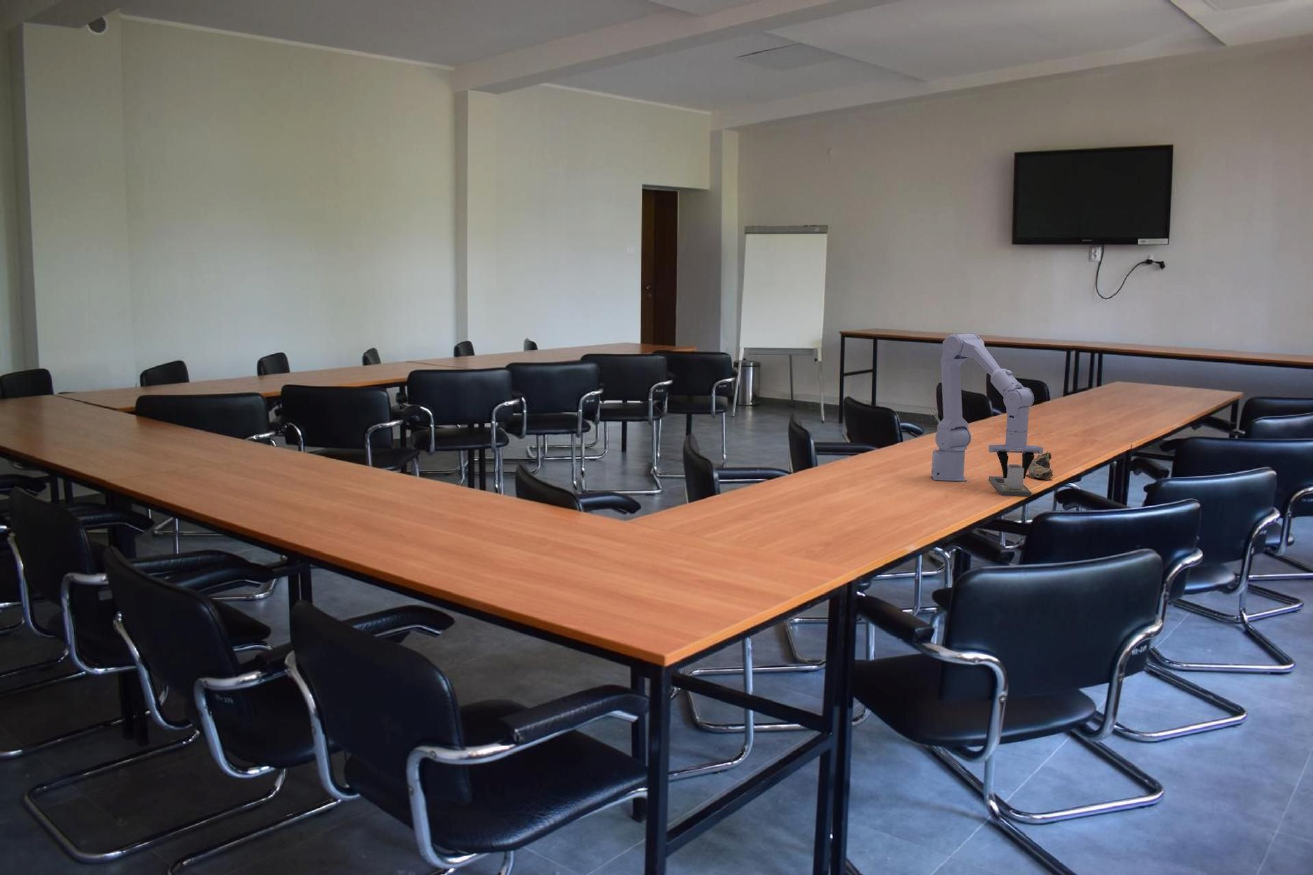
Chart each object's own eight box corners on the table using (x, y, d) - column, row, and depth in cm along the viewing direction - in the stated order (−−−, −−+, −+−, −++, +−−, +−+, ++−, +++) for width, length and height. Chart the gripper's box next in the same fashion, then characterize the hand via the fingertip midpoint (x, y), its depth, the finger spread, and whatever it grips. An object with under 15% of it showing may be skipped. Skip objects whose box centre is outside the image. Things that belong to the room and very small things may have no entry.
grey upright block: (1006, 488, 295) (1007, 466, 294) (1003, 485, 299) (1005, 463, 298) (1022, 489, 294) (1024, 466, 293) (1019, 485, 298) (1021, 463, 297)
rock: (1067, 474, 315) (1050, 450, 321) (1057, 467, 310) (1040, 443, 317) (1043, 492, 319) (1027, 467, 325) (1033, 485, 314) (1016, 460, 320)
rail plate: (1001, 495, 292) (1001, 491, 292) (988, 480, 314) (988, 475, 313) (1031, 496, 291) (1031, 492, 291) (1016, 480, 312) (1016, 476, 312)
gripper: (992, 432, 291) (989, 479, 293) (1046, 433, 289) (1043, 481, 291) (988, 428, 298) (985, 474, 300) (1041, 429, 295) (1038, 476, 298)
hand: (1013, 477), depth 296 cm, fingers closed on grey upright block, 4 cm apart
